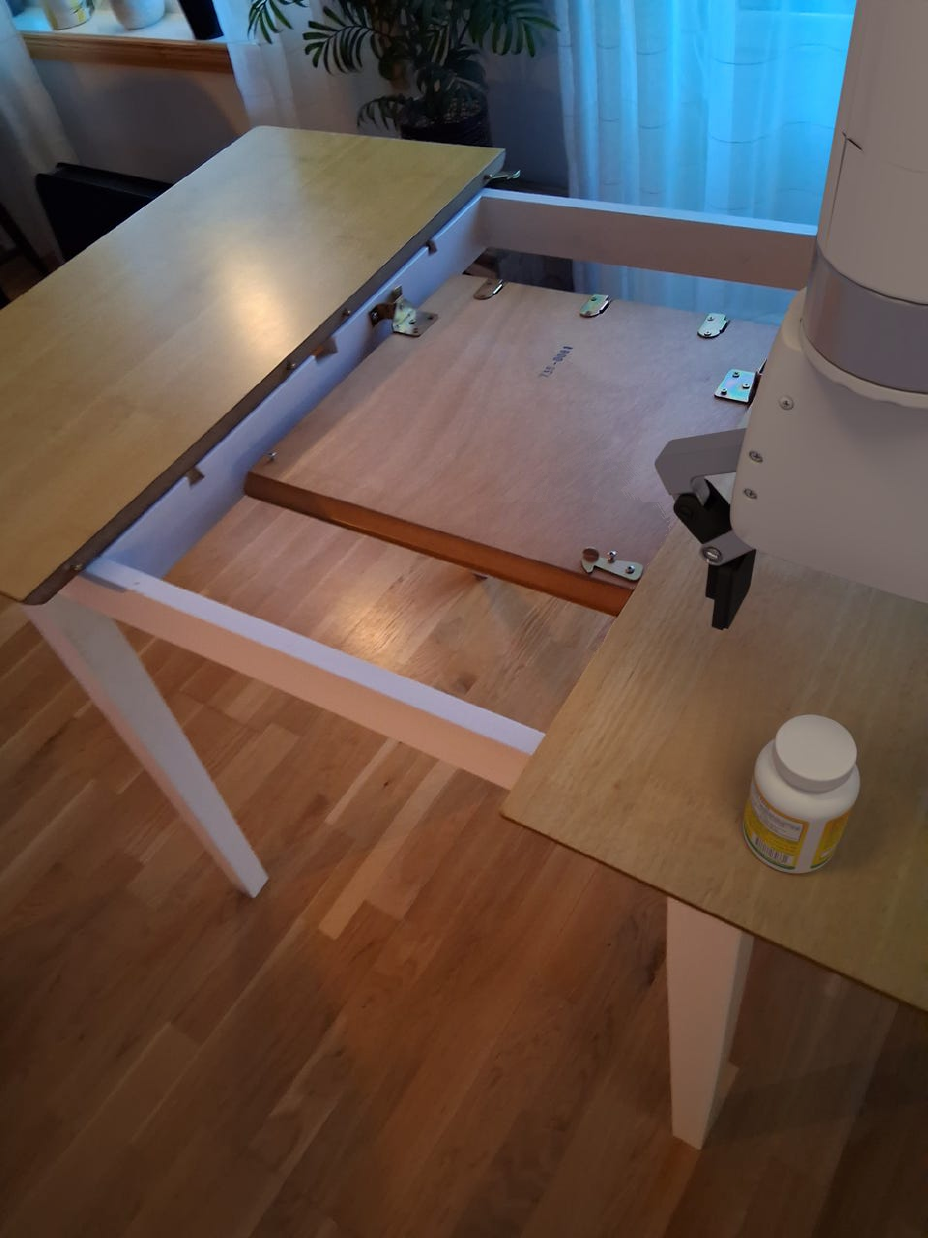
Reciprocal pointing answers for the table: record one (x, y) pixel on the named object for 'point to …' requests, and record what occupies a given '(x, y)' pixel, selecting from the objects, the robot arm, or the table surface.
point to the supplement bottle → (802, 794)
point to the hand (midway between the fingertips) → (835, 643)
